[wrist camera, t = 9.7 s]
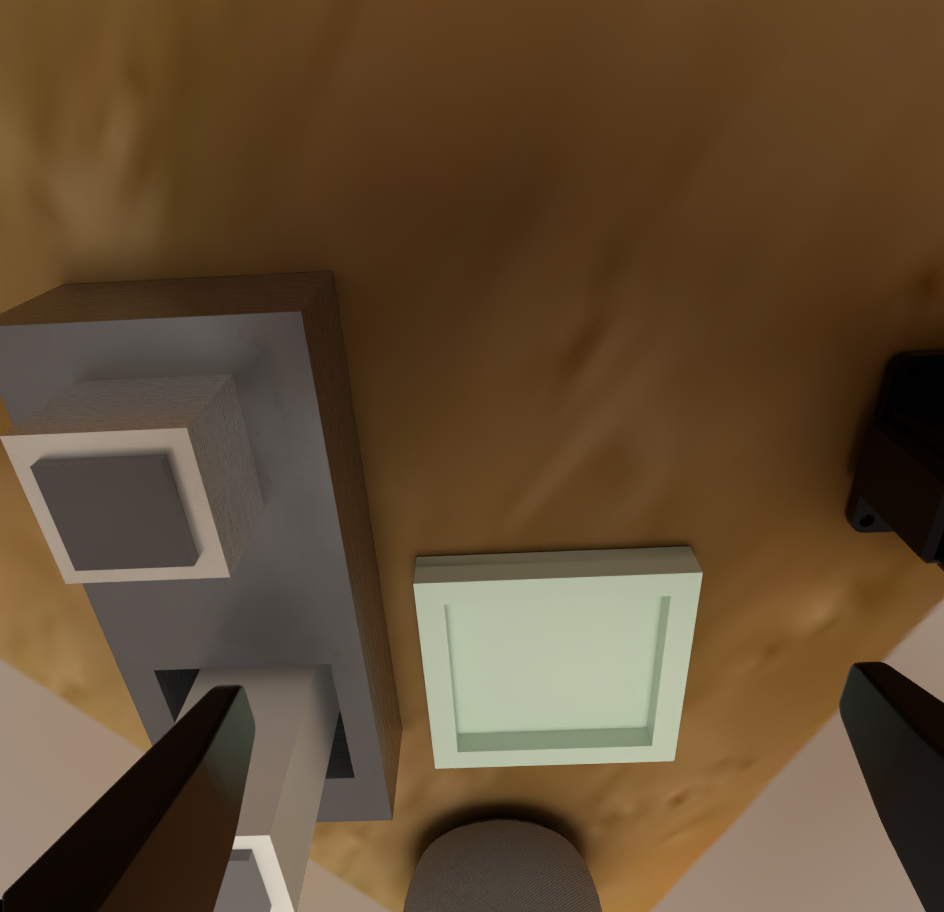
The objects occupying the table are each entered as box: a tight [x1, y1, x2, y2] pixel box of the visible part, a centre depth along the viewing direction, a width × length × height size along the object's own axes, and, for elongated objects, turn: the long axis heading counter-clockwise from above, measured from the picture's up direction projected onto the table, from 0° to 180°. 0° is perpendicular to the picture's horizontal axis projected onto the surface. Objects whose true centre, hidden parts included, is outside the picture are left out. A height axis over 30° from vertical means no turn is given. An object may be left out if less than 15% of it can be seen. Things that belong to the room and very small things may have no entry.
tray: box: [413, 546, 703, 769], centre depth 26 cm, size 10×10×2 cm
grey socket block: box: [0, 271, 402, 822], centre depth 21 cm, size 20×8×7 cm, turn 3°
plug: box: [174, 664, 340, 912], centre depth 22 cm, size 4×4×8 cm
